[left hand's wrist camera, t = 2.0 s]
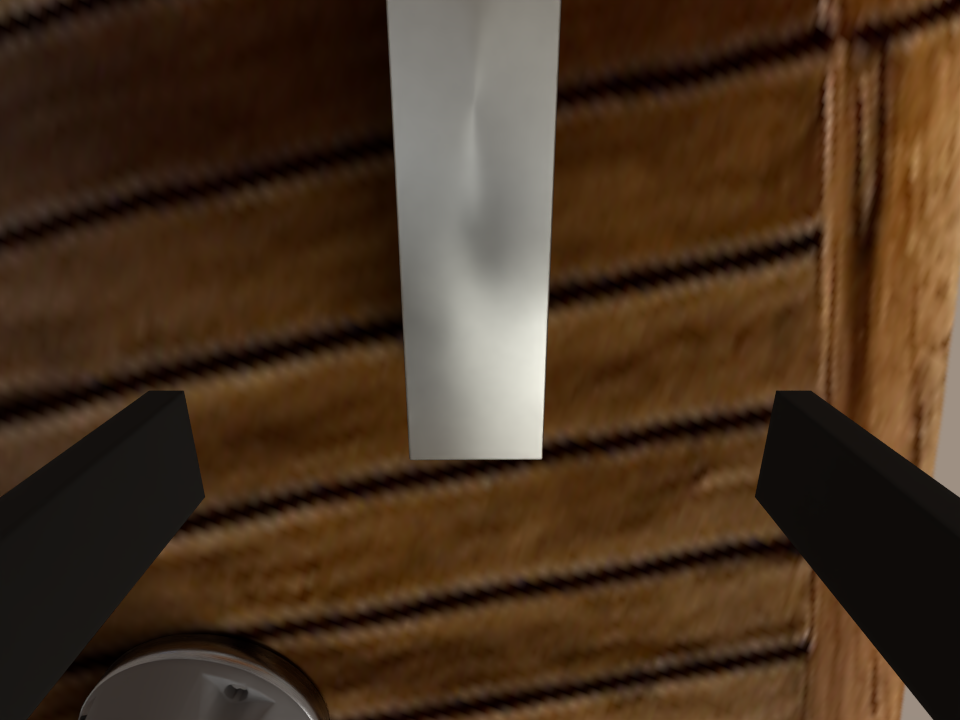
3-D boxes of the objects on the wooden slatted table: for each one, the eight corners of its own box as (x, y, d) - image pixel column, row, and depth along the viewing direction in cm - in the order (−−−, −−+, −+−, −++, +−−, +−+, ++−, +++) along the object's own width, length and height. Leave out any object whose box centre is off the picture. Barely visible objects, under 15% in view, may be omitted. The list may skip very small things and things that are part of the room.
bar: (524, 376, 29) (542, 460, 21) (428, 376, 29) (409, 460, 21) (542, -245, 20) (582, -500, 12) (405, -245, 20) (359, -500, 12)
